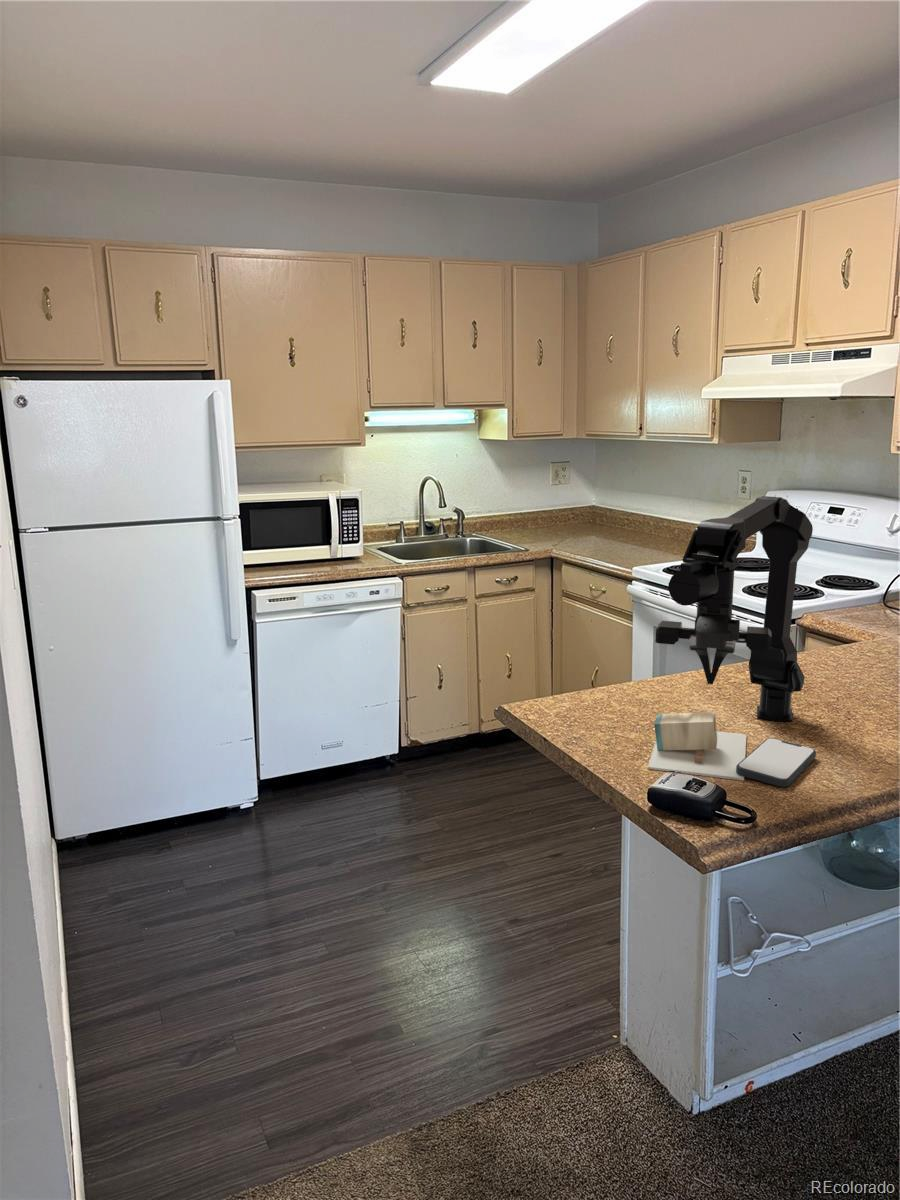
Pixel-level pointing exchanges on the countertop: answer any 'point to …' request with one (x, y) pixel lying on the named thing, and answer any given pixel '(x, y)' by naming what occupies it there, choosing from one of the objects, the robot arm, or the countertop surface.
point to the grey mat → (704, 758)
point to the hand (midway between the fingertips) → (710, 683)
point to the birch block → (686, 731)
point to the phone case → (776, 762)
